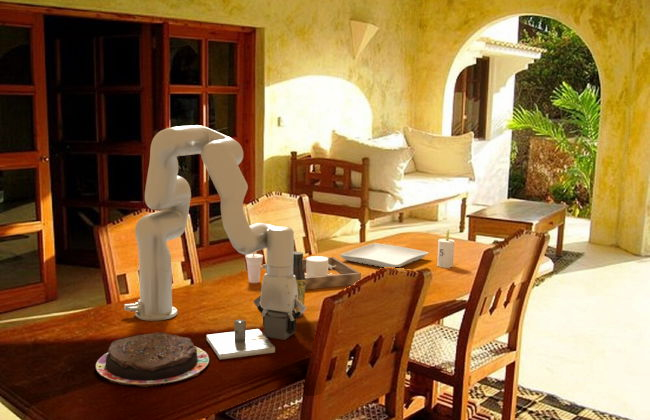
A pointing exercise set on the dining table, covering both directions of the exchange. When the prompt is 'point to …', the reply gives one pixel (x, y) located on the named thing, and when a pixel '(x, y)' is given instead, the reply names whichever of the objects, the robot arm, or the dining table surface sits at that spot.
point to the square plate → (383, 255)
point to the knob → (276, 325)
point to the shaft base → (240, 342)
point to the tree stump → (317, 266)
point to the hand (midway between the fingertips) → (279, 330)
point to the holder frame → (332, 276)
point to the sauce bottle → (299, 276)
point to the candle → (445, 252)
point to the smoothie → (254, 267)
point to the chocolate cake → (151, 360)
